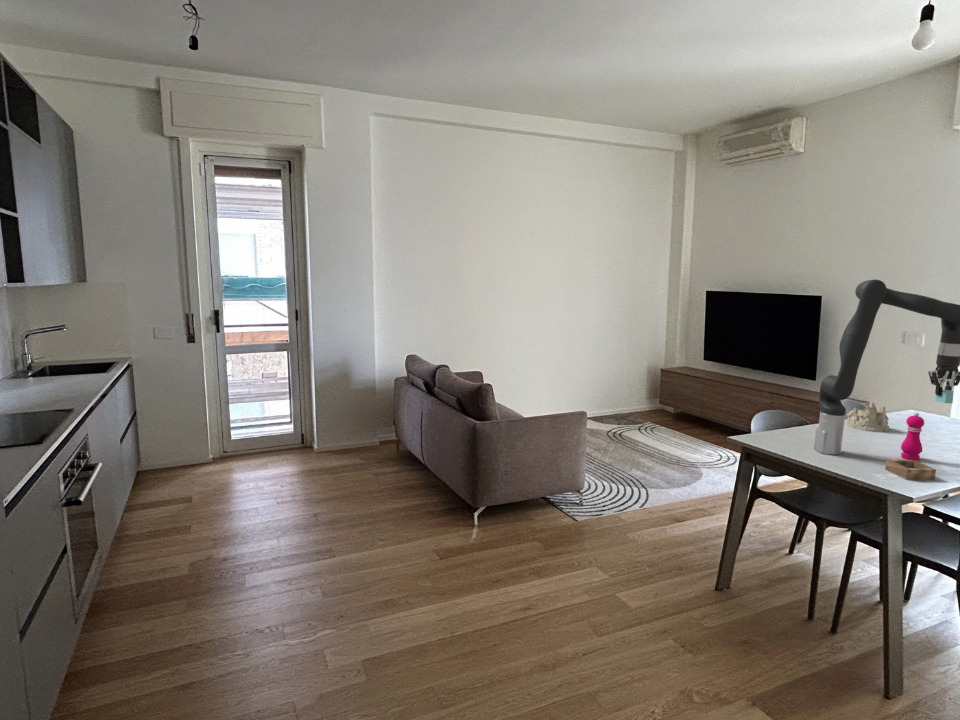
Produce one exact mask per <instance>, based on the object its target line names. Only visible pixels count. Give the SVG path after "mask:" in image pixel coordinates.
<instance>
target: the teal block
mask: <svg viewBox="0 0 960 720" xmlns="http://www.w3.org/2000/svg"><path fill="white" fill-rule="evenodd" d="M934 398H935V399H934V401H935V402H937V403H942V404H953V403H954V402H953V401H954V390H952V391H950V390H945V388H943V390H942V395H941V396H938V395H936V394H935V397H934Z"/></svg>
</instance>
